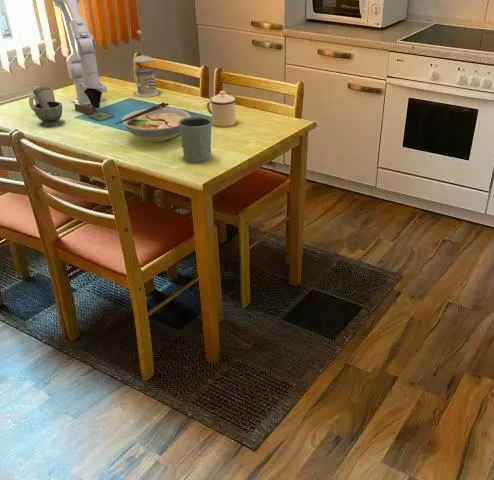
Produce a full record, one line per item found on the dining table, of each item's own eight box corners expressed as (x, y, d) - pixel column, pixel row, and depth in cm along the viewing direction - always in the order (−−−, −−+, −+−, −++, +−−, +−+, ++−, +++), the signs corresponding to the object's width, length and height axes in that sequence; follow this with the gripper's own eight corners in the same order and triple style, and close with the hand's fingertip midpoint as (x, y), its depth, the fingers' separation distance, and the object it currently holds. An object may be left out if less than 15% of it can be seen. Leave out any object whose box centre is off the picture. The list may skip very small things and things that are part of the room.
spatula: (70, 111, 226) (69, 104, 224) (83, 107, 230) (82, 100, 228) (100, 121, 217) (98, 113, 215) (113, 117, 220) (111, 109, 219)
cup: (61, 112, 225) (56, 88, 220) (37, 118, 218) (31, 94, 213) (51, 108, 229) (46, 85, 224) (27, 114, 222) (21, 90, 217)
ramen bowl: (158, 157, 188) (155, 132, 183) (108, 143, 198) (104, 119, 193) (207, 134, 205) (205, 111, 201) (158, 122, 215) (156, 100, 211)
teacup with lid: (241, 121, 217) (240, 90, 210) (226, 128, 210) (225, 96, 204) (215, 116, 222) (213, 85, 215) (200, 123, 215) (198, 91, 209)
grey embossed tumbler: (176, 161, 185) (172, 124, 178) (191, 150, 193) (188, 114, 186) (204, 166, 182) (201, 128, 175) (219, 154, 190) (217, 118, 183)
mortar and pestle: (70, 123, 214) (64, 90, 208) (48, 130, 208) (40, 96, 201) (52, 117, 220) (45, 84, 213) (30, 123, 214) (22, 90, 207)
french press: (163, 92, 248) (156, 29, 234) (144, 99, 240) (136, 34, 226) (146, 88, 252) (139, 27, 238) (127, 95, 244) (117, 31, 230)
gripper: (69, 70, 218) (76, 106, 226) (93, 77, 211) (99, 114, 218) (84, 67, 223) (91, 102, 230) (109, 73, 216) (114, 109, 223)
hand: (96, 108), depth 225 cm, fingers closed
